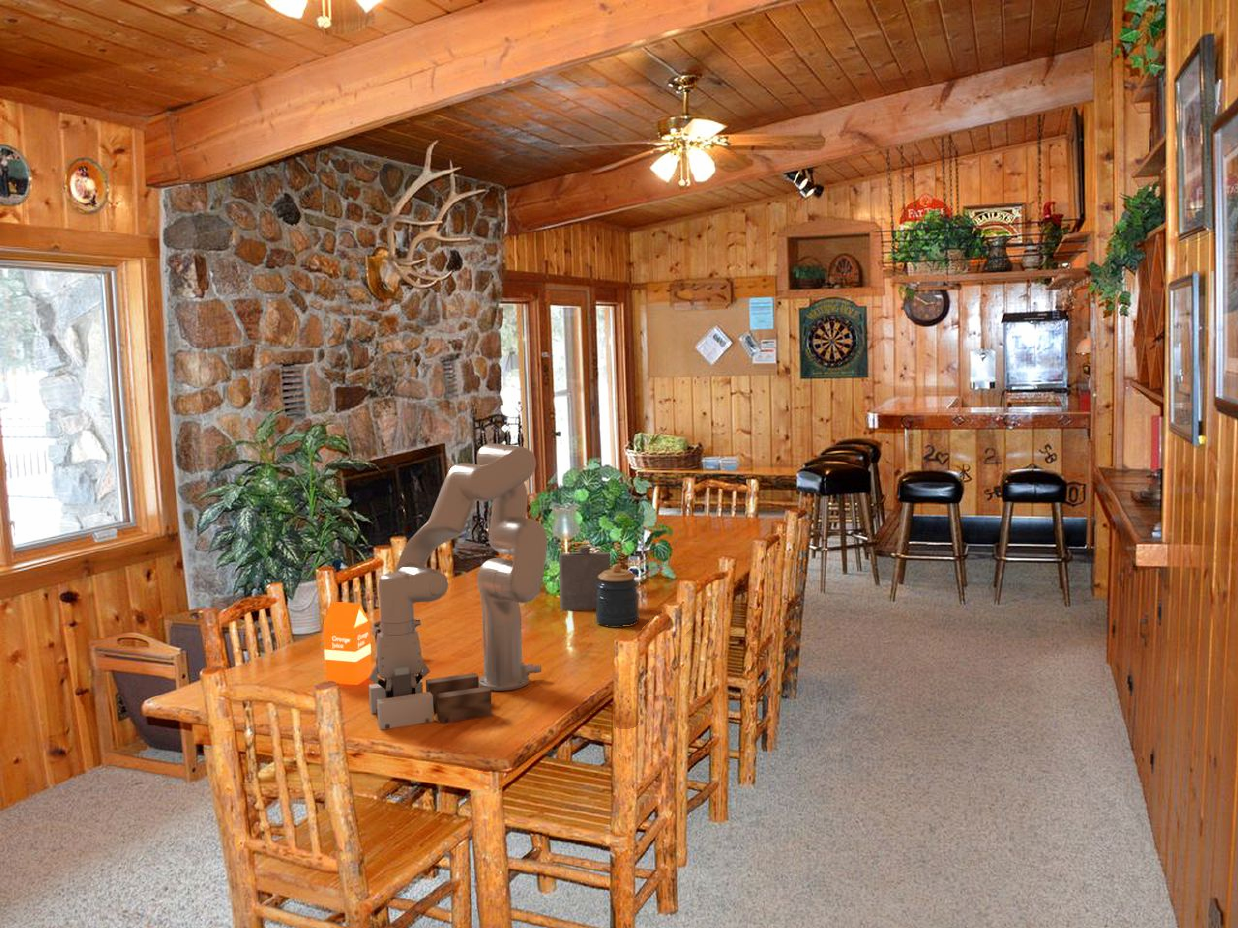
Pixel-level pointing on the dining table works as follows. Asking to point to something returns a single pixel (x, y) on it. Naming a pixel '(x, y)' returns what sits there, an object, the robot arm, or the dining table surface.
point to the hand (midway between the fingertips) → (401, 703)
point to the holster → (459, 698)
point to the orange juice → (347, 644)
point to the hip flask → (581, 578)
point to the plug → (401, 682)
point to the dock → (401, 707)
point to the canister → (617, 597)
